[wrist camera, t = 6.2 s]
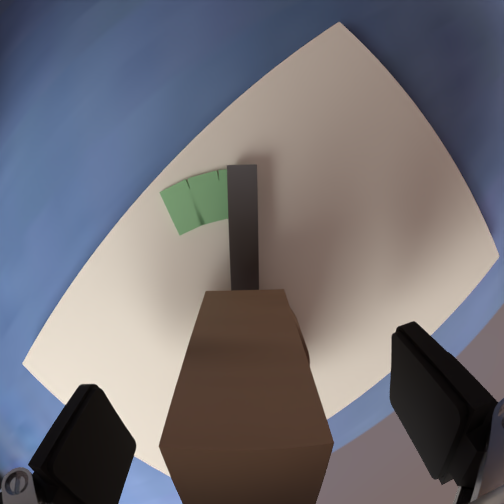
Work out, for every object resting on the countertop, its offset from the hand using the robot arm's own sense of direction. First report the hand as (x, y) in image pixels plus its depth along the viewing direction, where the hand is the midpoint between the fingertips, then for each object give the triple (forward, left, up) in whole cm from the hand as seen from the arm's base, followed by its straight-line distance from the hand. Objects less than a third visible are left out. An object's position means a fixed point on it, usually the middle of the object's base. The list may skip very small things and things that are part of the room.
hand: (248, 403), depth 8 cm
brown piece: (-2, 0, -4) cm, 4 cm away
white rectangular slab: (0, 0, -6) cm, 6 cm away
